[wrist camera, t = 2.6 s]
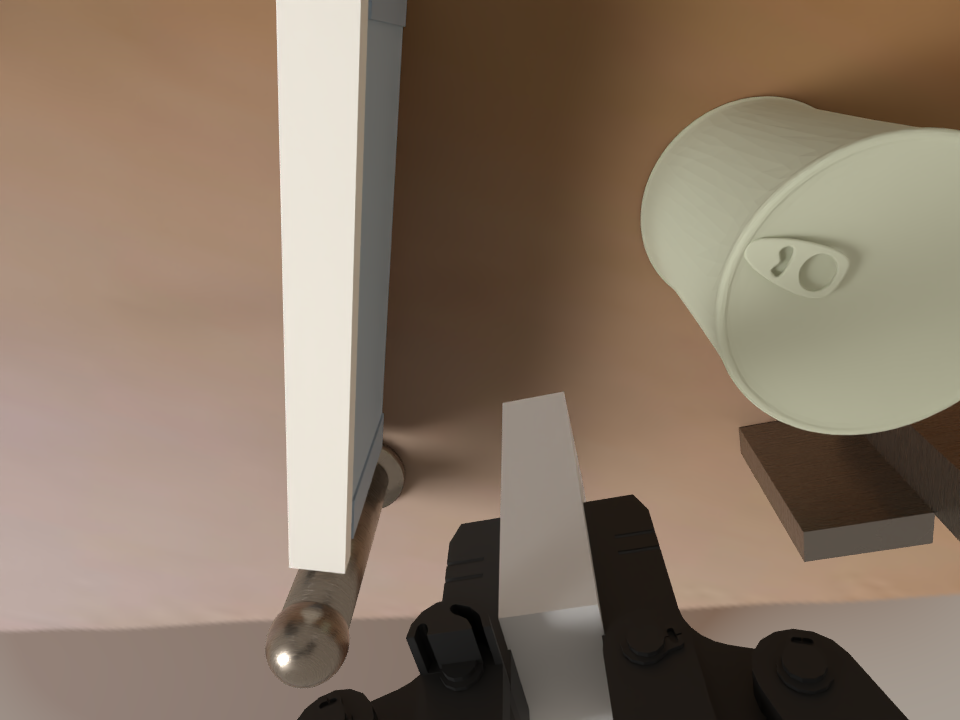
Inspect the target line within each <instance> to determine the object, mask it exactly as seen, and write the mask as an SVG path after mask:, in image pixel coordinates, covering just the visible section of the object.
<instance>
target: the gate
mask: <svg viewBox="0 0 960 720" xmlns="http://www.w3.org/2000/svg"><path fill="white" fill-rule="evenodd" d="M406 10H407V0H276V15H277V59H278V102H279V146H280V190H281V233H282V277H283V320H284V364H285V407H286V451H287V494H288V538H289V568H298V569H306V570H315V571H324V572H333V573H342V574H345V572H346V569H347V565H348V562H349V559H350V554H351V539H353V538H354V535H355V532H356V528H357V525H358V522H359V519H360V516H361V513H362V509H363V506H364V503H365V500H366V497H367V493H368V490H369V487H370V484H371V481H372V477H373V474H374V471H375V468H376V465H377V461H378V458H379V455H380V452H381V449H382V442H383V424H384V413H382V406H383V387H384V369H385V350H386V332H387V313H388V295H389V276H390V258H391V239H392V221H393V202H394V184H395V165H396V147H397V128H398V110H399V91H400V72H401V54H402V35H403V27H406Z"/></svg>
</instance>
